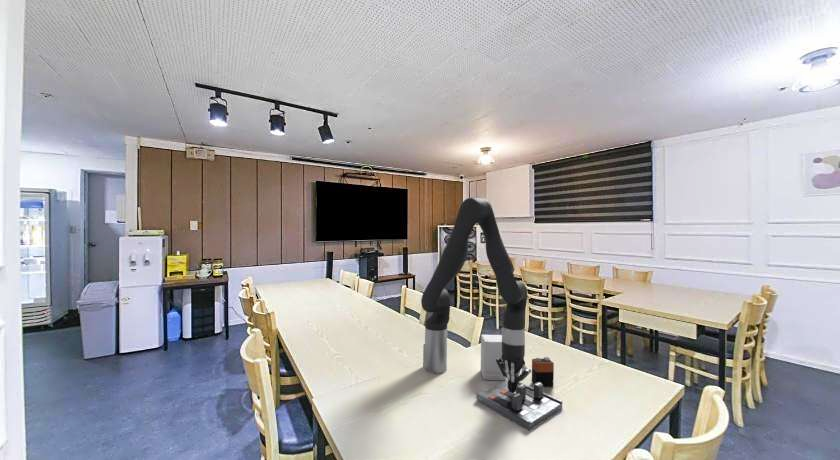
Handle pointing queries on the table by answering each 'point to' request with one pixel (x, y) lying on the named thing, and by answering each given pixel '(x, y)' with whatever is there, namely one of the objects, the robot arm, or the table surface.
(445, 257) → the robot arm
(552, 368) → the battery
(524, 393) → the breaker
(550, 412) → the panel
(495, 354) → the supplement box
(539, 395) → the breaker
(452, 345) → the table surface
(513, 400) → the breaker
